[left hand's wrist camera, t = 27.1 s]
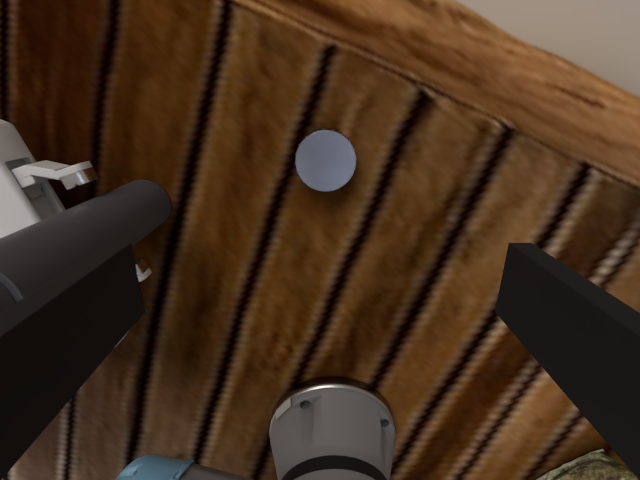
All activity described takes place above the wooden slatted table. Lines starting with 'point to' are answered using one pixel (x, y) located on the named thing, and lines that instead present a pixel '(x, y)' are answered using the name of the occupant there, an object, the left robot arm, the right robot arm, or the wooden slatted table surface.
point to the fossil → (591, 469)
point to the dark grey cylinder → (77, 236)
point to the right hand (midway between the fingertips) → (118, 222)
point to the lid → (325, 160)
